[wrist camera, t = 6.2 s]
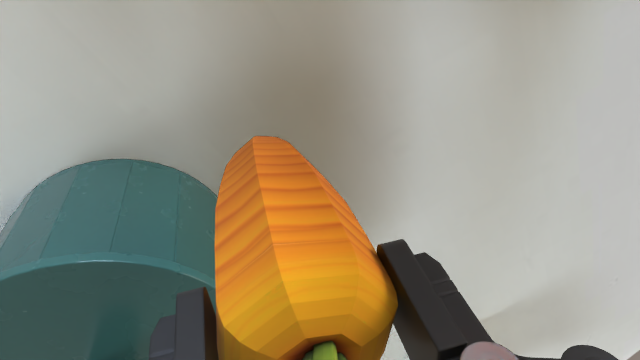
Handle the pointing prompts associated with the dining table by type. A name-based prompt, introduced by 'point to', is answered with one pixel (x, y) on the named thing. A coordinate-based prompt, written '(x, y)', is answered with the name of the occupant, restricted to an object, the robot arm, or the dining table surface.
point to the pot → (115, 215)
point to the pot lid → (90, 305)
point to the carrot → (294, 264)
